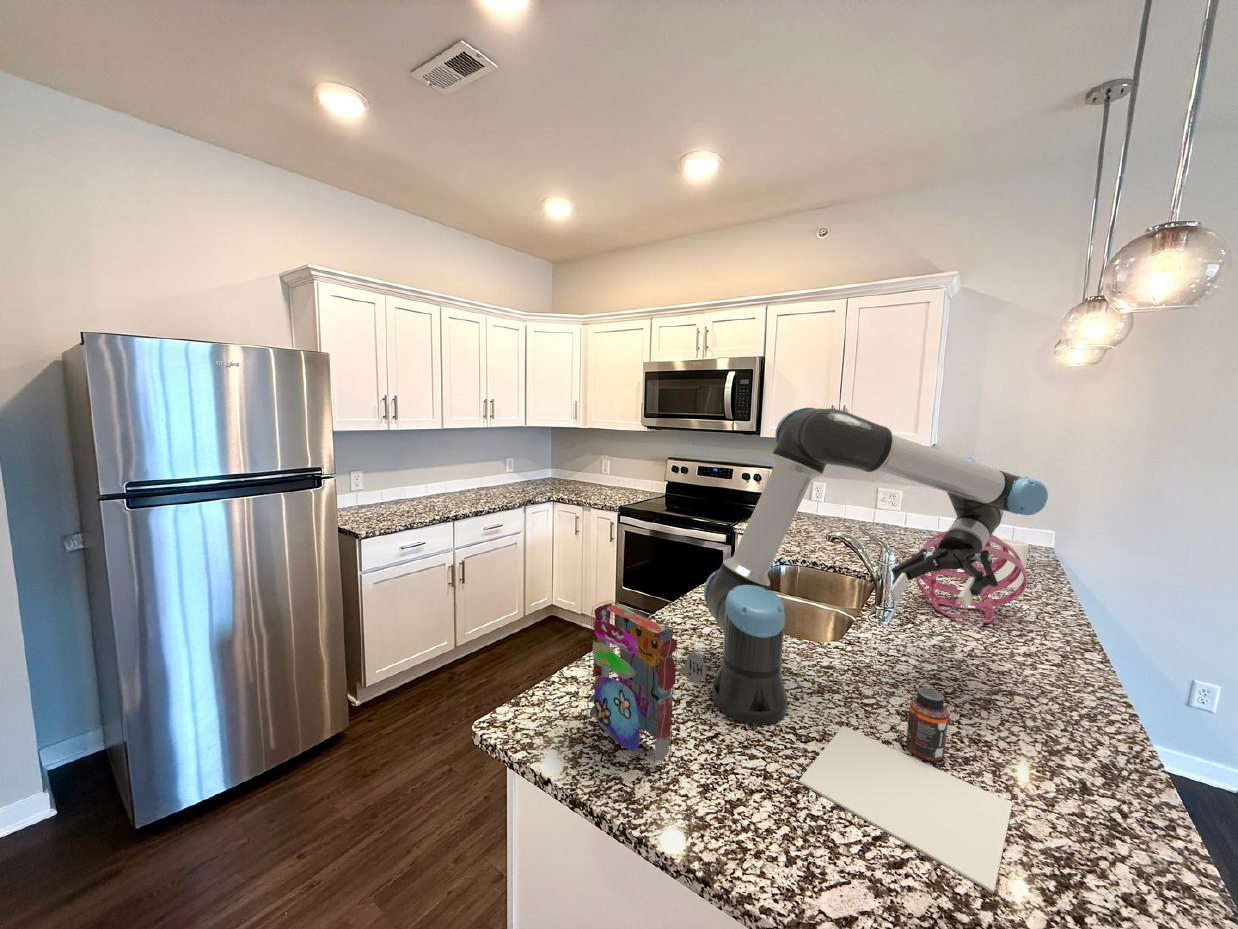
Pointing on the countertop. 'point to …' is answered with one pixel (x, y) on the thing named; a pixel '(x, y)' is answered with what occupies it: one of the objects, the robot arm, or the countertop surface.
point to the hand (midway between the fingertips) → (925, 598)
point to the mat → (914, 803)
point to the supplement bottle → (927, 725)
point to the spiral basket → (987, 601)
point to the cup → (1022, 551)
